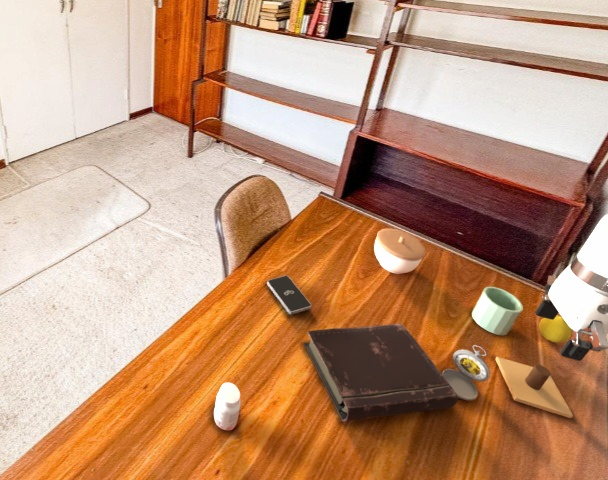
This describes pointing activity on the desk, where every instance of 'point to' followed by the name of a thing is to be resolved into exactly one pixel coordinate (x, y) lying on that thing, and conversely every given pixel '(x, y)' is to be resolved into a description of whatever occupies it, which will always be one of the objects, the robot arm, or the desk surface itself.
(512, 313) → the cup
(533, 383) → the square peg board
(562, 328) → the lemon
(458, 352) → the pocket watch
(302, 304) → the external hard drive
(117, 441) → the desk surface
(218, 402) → the pill bottle
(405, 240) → the lidded bowl
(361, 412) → the diary
